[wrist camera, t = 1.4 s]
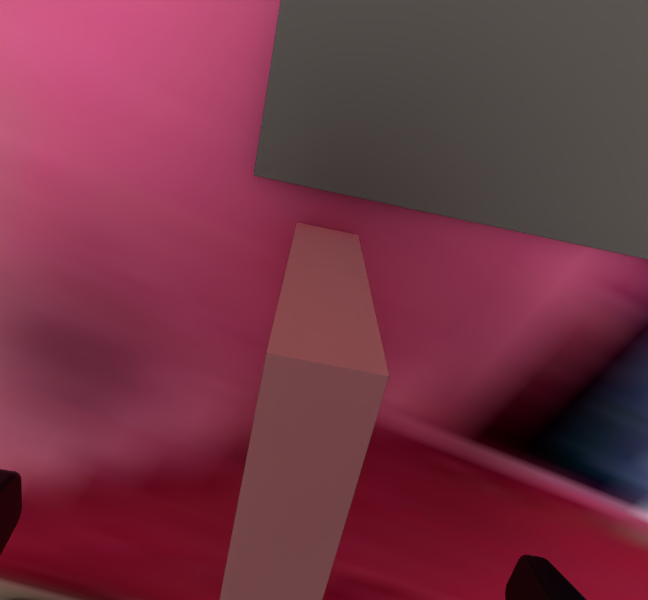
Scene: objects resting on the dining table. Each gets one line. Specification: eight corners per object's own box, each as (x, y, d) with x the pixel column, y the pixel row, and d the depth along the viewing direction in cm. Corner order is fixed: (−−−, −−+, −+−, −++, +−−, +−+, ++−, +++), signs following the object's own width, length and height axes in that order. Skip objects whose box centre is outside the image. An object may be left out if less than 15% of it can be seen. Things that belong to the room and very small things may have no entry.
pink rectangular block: (299, 476, 16) (280, 738, 9) (249, 467, 16) (195, 726, 9) (357, 234, 13) (389, 375, 6) (297, 221, 13) (266, 352, 6)
